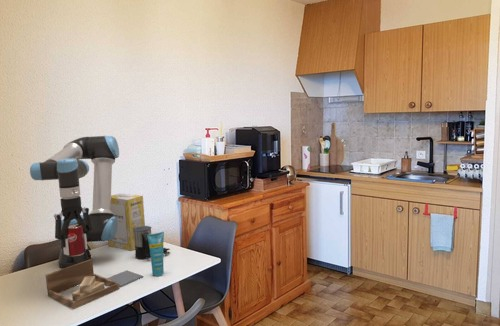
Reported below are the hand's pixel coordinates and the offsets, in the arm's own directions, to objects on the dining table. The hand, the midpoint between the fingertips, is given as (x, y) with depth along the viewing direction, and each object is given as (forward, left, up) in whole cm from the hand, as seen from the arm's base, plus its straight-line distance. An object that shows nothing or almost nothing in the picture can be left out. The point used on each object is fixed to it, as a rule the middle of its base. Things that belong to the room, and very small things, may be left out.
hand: (75, 251), depth 162 cm
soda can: (0, 0, -1) cm, 1 cm away
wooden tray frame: (+4, 0, -17) cm, 17 cm away
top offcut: (+8, 0, -14) cm, 16 cm away
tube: (+16, +29, -17) cm, 37 cm away
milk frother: (-6, +44, -17) cm, 47 cm away
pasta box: (-30, +46, -17) cm, 58 cm away
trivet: (+7, +17, -17) cm, 25 cm away
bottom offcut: (+8, 0, -17) cm, 19 cm away
